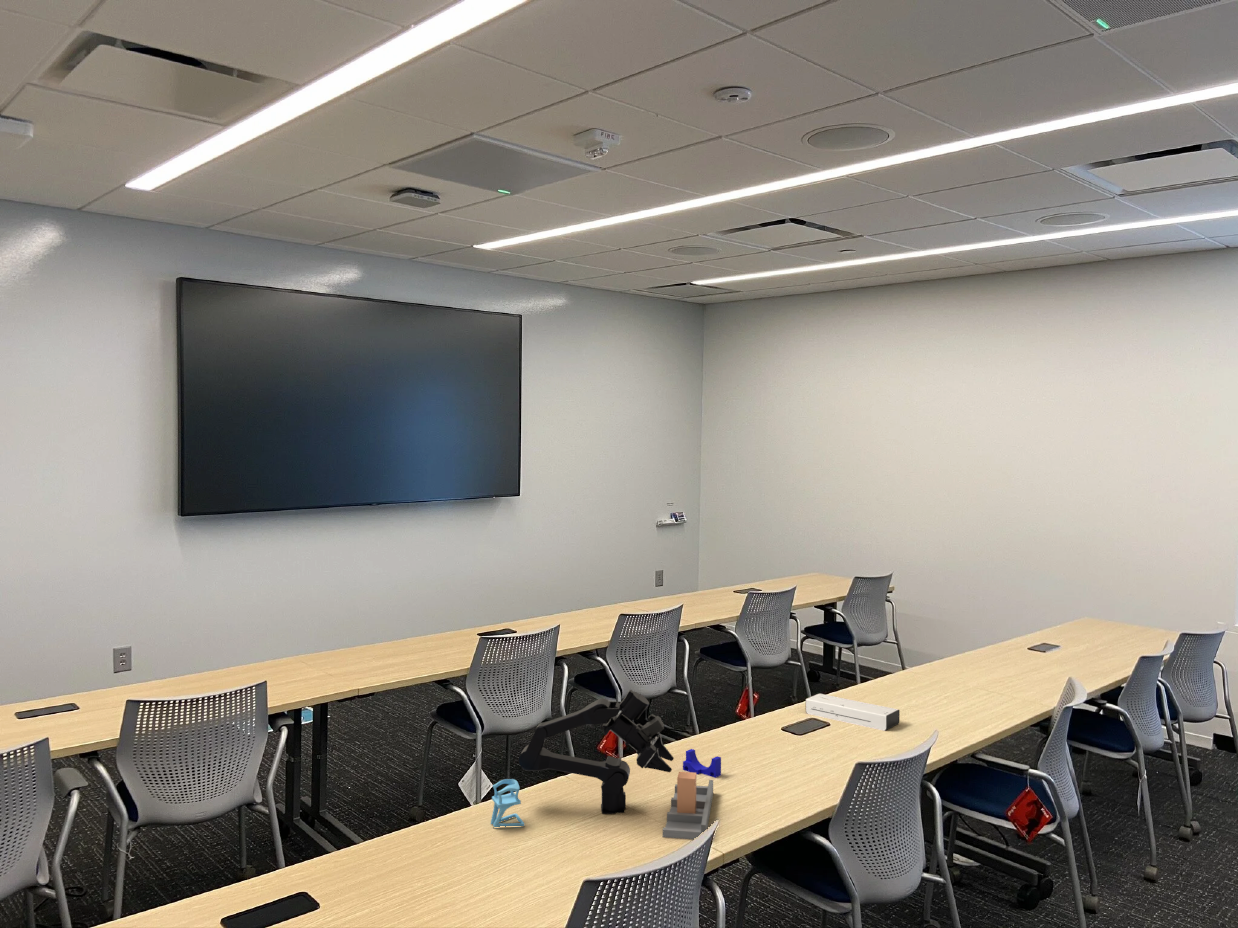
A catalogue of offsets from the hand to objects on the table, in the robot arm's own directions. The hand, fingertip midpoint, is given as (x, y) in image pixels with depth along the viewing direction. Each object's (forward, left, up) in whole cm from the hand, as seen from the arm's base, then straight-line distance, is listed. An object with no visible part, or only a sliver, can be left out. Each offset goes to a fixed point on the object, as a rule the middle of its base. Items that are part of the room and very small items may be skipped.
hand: (672, 765), depth 255 cm
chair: (-47, -5, -14) cm, 49 cm away
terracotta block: (+4, -2, -13) cm, 14 cm away
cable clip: (+14, +31, -14) cm, 37 cm away
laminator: (+81, +86, -14) cm, 119 cm away
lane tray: (+5, -2, -14) cm, 15 cm away
